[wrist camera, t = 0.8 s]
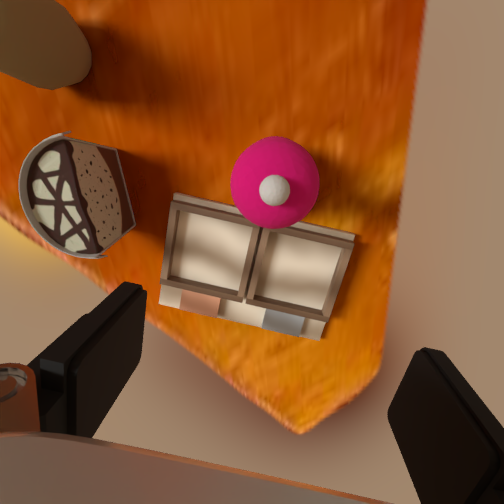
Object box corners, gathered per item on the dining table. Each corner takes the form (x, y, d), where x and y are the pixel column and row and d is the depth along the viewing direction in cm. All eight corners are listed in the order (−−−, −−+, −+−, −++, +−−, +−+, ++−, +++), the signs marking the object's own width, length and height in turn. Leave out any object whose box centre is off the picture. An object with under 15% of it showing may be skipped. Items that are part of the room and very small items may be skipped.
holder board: (176, 192, 38) (169, 194, 35) (353, 233, 38) (358, 238, 35) (161, 300, 42) (154, 309, 40) (318, 336, 42) (320, 347, 40)
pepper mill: (314, 188, 36) (358, 228, 17) (257, 211, 38) (240, 271, 19) (293, 127, 34) (315, 97, 16) (233, 153, 36) (188, 155, 17)
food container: (64, 143, 37) (-9, 139, 27) (113, 135, 36) (55, 129, 27) (94, 242, 40) (39, 269, 31) (139, 236, 40) (96, 263, 30)
